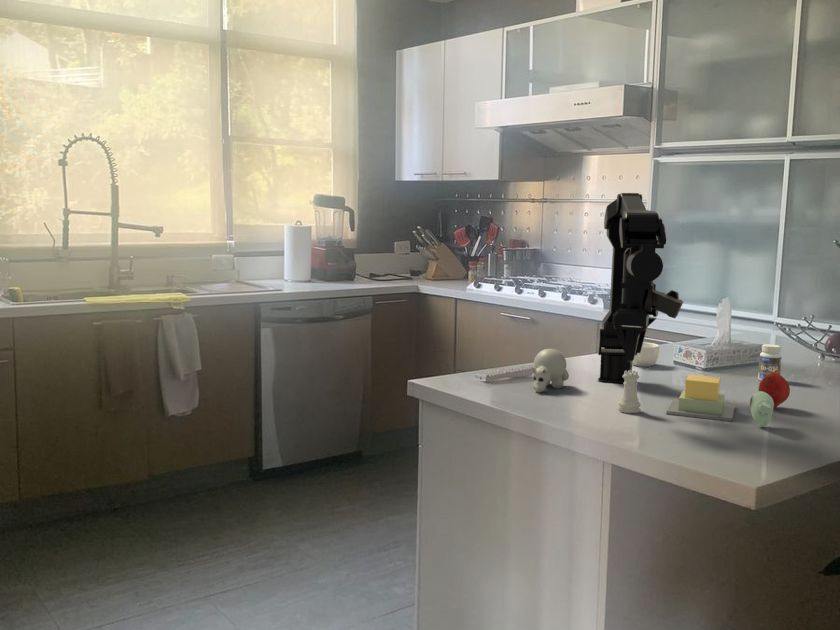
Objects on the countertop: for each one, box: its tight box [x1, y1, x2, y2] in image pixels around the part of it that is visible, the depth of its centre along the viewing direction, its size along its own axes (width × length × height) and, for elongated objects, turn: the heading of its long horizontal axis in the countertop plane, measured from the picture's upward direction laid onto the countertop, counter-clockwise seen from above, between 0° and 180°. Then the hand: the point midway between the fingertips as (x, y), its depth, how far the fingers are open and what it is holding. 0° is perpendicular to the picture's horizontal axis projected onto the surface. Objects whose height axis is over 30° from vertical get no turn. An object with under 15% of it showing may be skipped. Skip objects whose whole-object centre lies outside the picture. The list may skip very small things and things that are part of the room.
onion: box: [757, 369, 791, 409], centre depth 163 cm, size 6×6×8 cm
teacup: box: [632, 341, 660, 368], centre depth 206 cm, size 10×8×5 cm
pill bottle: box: [757, 343, 782, 382], centre depth 190 cm, size 5×5×8 cm
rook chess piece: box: [617, 370, 642, 415], centre depth 159 cm, size 4×4×8 cm
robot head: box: [749, 390, 775, 428], centre depth 149 cm, size 8×4×7 cm, turn 157°
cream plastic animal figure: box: [531, 348, 570, 393], centre depth 178 cm, size 7×12×8 cm, turn 145°
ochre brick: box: [684, 374, 721, 401], centre depth 160 cm, size 6×6×4 cm
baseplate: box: [666, 389, 736, 422], centre depth 160 cm, size 12×12×3 cm
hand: (634, 356), depth 158 cm, fingers open, 9 cm apart
